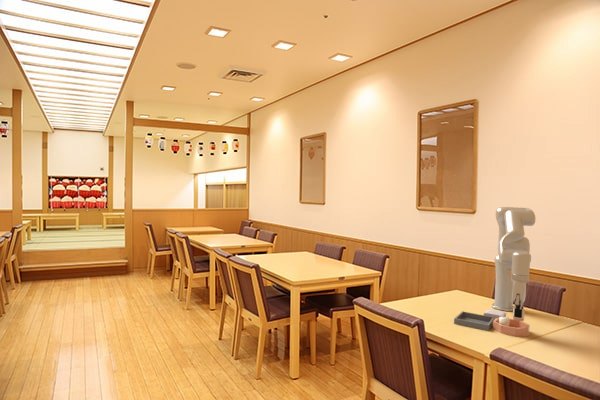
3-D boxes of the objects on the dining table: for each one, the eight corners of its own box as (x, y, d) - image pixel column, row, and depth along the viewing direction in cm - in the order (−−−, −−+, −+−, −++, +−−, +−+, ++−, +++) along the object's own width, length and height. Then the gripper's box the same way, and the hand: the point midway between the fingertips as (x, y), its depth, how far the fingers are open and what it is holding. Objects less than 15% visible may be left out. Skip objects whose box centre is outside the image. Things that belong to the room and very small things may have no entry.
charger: (507, 318, 216) (502, 325, 204) (488, 314, 221) (483, 321, 209) (507, 309, 216) (503, 316, 204) (489, 306, 221) (483, 312, 209)
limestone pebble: (499, 325, 200) (500, 315, 199) (510, 328, 197) (510, 317, 197) (497, 328, 196) (498, 318, 196) (508, 330, 193) (508, 320, 193)
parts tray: (461, 316, 215) (462, 311, 215) (494, 323, 206) (494, 317, 206) (453, 324, 202) (454, 318, 202) (488, 331, 193) (488, 325, 193)
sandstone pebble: (513, 317, 196) (514, 307, 196) (524, 319, 193) (524, 308, 193) (512, 319, 192) (512, 309, 192) (523, 321, 189) (523, 311, 189)
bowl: (496, 323, 205) (496, 316, 205) (530, 330, 196) (530, 322, 196) (490, 331, 193) (491, 323, 193) (526, 339, 184) (527, 330, 184)
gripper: (513, 274, 201) (512, 310, 201) (508, 279, 187) (507, 318, 188) (531, 276, 197) (529, 313, 197) (527, 281, 183) (525, 321, 183)
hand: (518, 315), depth 192 cm, fingers closed on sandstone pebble, 4 cm apart
